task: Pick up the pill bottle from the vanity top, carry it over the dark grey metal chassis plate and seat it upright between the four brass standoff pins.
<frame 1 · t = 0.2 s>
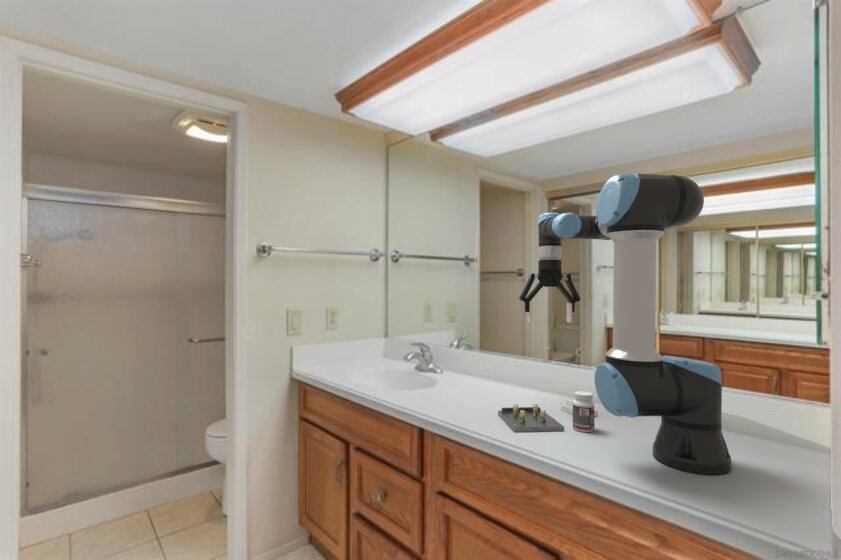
hand: (549, 322, 145), 28 cm above the worktop, fingers open, 13 cm apart
soap dish: (578, 413, 135), on the worktop
chassis: (529, 422, 125), on the worktop
pill bottle: (583, 429, 119), on the worktop
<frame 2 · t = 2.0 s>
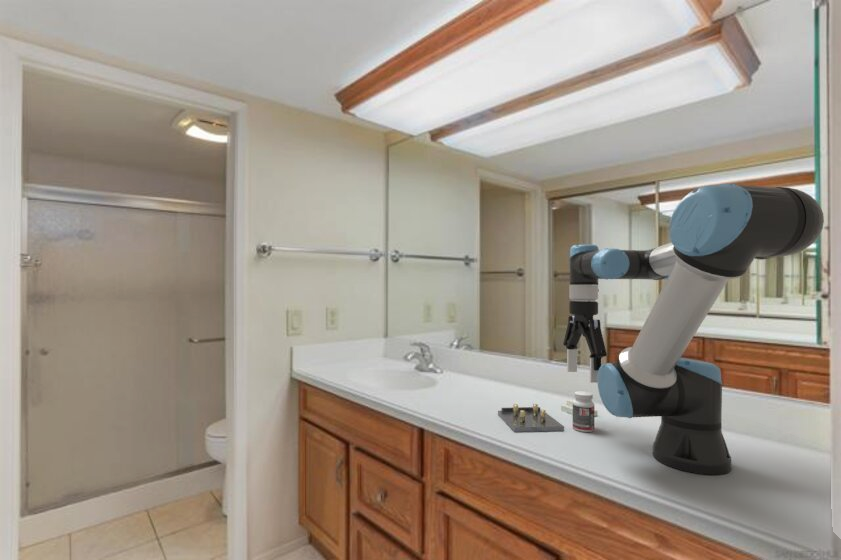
hand: (583, 376, 120), 14 cm above the worktop, fingers open, 13 cm apart
nothing on the worktop moved.
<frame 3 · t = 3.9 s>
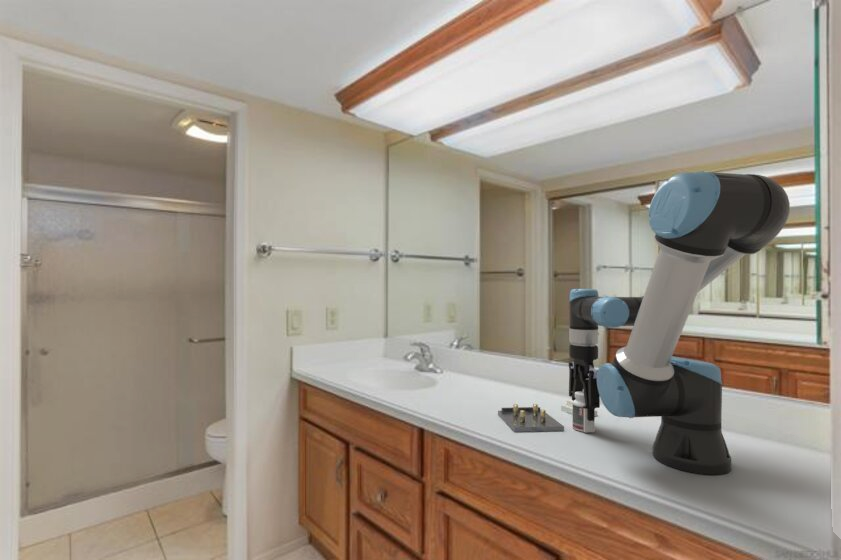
hand: (583, 427, 119), 0 cm above the worktop, fingers closed on pill bottle, 6 cm apart
pill bottle: (583, 429, 119), on the worktop, touching gripper
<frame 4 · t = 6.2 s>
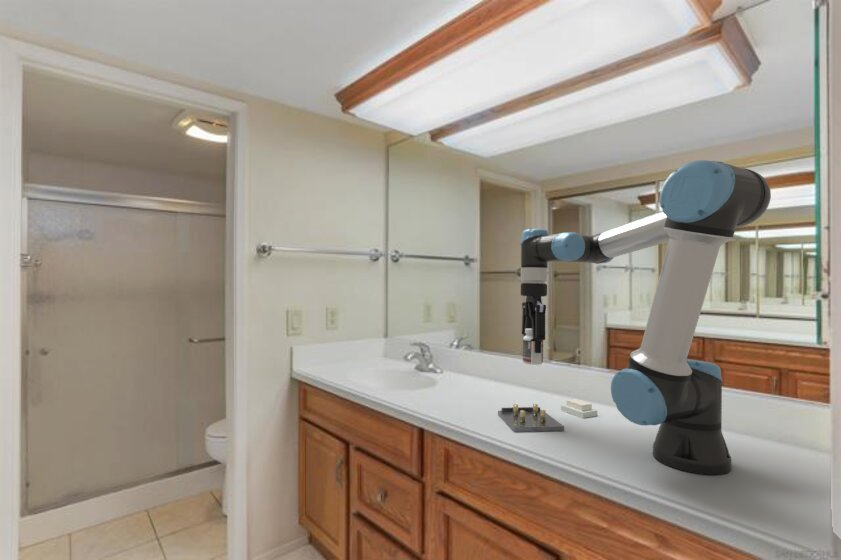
hand: (532, 361, 125), 17 cm above the worktop, fingers closed on pill bottle, 6 cm apart
pill bottle: (532, 363, 125), point 17 cm above the worktop, touching gripper
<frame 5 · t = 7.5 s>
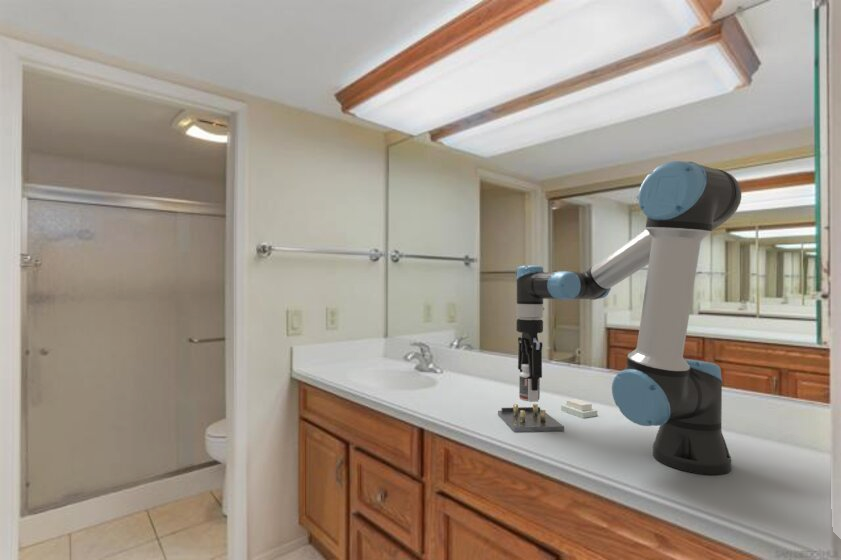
hand: (529, 398, 125), 7 cm above the worktop, fingers closed on pill bottle, 6 cm apart
pill bottle: (529, 400, 125), point 6 cm above the worktop, touching gripper
when the fingers open (3 cm above the worktop, at t = 8.7 s): pill bottle drops 1 cm, resting on chassis.
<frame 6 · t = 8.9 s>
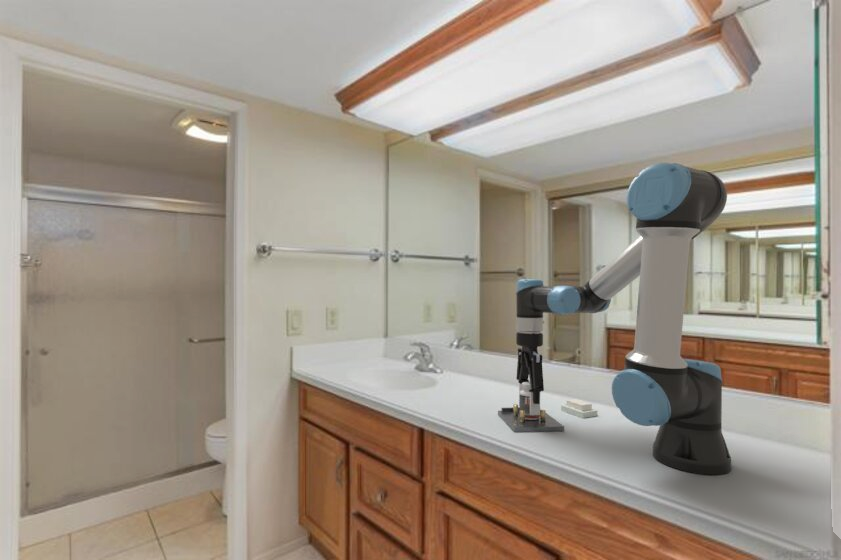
hand: (529, 410, 125), 4 cm above the worktop, fingers open, 8 cm apart
pill bottle: (529, 418, 125), point 1 cm above the worktop, touching chassis
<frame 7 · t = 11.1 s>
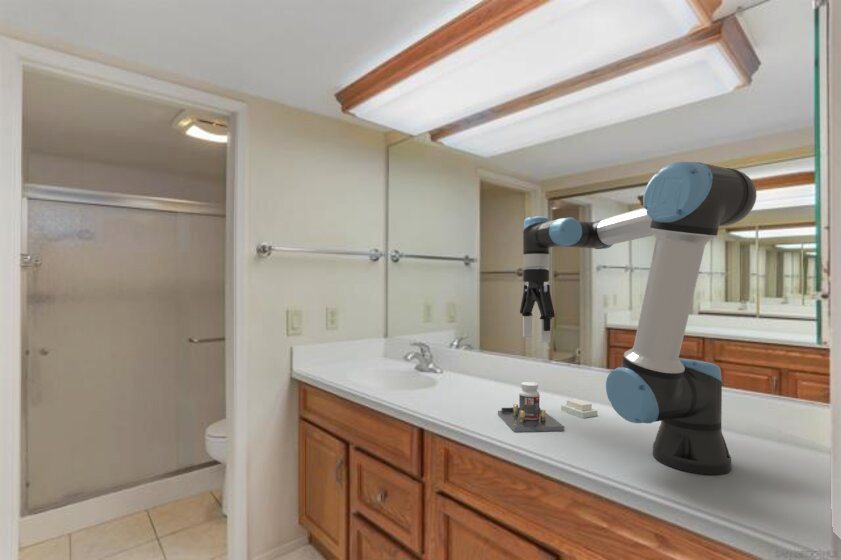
hand: (535, 339, 129), 24 cm above the worktop, fingers open, 13 cm apart
nothing on the worktop moved.
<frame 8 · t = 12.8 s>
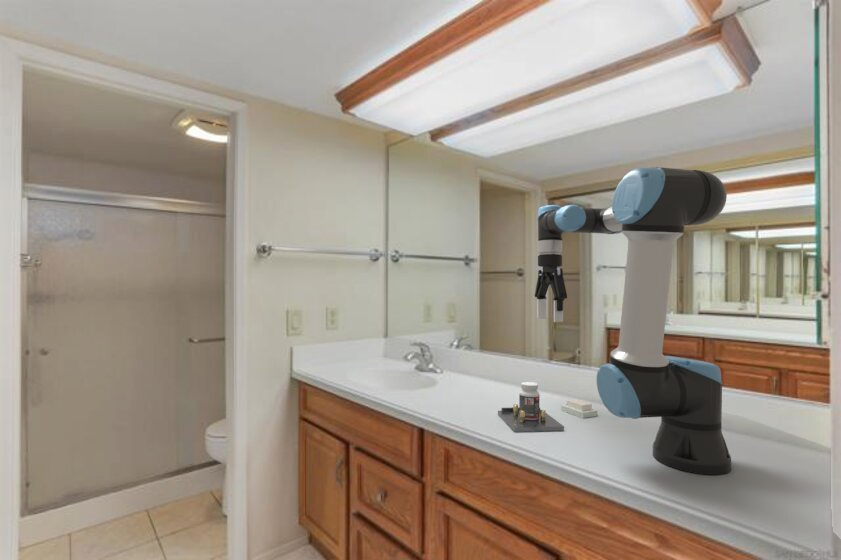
hand: (549, 320, 138), 29 cm above the worktop, fingers open, 13 cm apart
nothing on the worktop moved.
at the end: pill bottle 0.1 cm off-centre on the chassis, point 1.0 cm above the chassis's base; pill bottle tilted 0°; the gripper is holding nothing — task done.
